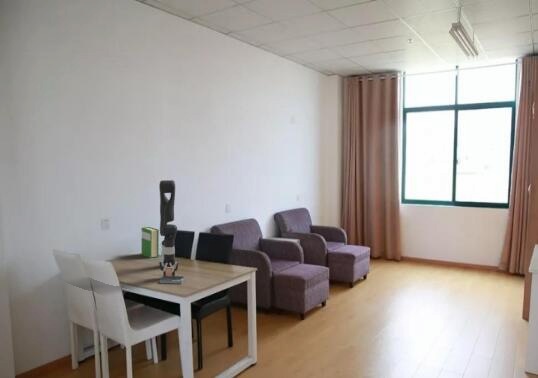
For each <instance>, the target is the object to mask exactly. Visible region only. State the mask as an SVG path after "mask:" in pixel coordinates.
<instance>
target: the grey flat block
mask: <svg viewBox="0 0 538 378" xmlns="http://www.w3.org/2000/svg"><path fill="white" fill-rule="evenodd" d="M158 282H159V283H158V284H166V285H167V284H168V285H169V284H171V285H172V284H174V285H182V284H183V282H185V276H184V275H175V276H164V275H162V277H161V278H160V279H159V281H158Z"/></svg>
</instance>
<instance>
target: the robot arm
mask: <svg viewBox="0 0 538 378" xmlns="http://www.w3.org/2000/svg"><path fill="white" fill-rule="evenodd" d="M158 186H159V200H160V202H159V203H160V204H159V217H160V220H159V221H160V224H159V235H160V236H161V237H166V238H164V240H162V241H161V261H159V263H158V264H159V269H160V271H162V272H163V275H162V276H166V268H167V267H171V269H172V271H173V272H172V276H176V272H177V271H178V269H179V266H180V261H176V259H175V258H176V253H175V252H176V249H175V247H176V246H175V239H176V236H177V233H178V227H177V225H176V224H172V223H171V222H173V221H174V220H175V202H176V201H175V200H176V198H175V197H176V182H175V181H174V180H172V179H170V180H166V179H165V180H160V181H159V185H158ZM166 194H170V195H169V196H170V197H169V199H168V197H167V196H166ZM174 222H175V221H174ZM168 223H171V224H168Z"/></svg>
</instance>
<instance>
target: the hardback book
mask: <svg viewBox="0 0 538 378" xmlns="http://www.w3.org/2000/svg"><path fill="white" fill-rule="evenodd" d="M159 235H160V229H158V228H154V227H151V226H147V227H146V226H144V227H141V256H144V257H146V258H148V257H149V259H152V258H159V251H160V250H159V249H160V248H159V238H160V237H159Z"/></svg>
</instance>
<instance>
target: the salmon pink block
mask: <svg viewBox="0 0 538 378" xmlns="http://www.w3.org/2000/svg"><path fill="white" fill-rule="evenodd" d="M172 272H173V271H172V269H171V267H167V268H166V276H172Z"/></svg>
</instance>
